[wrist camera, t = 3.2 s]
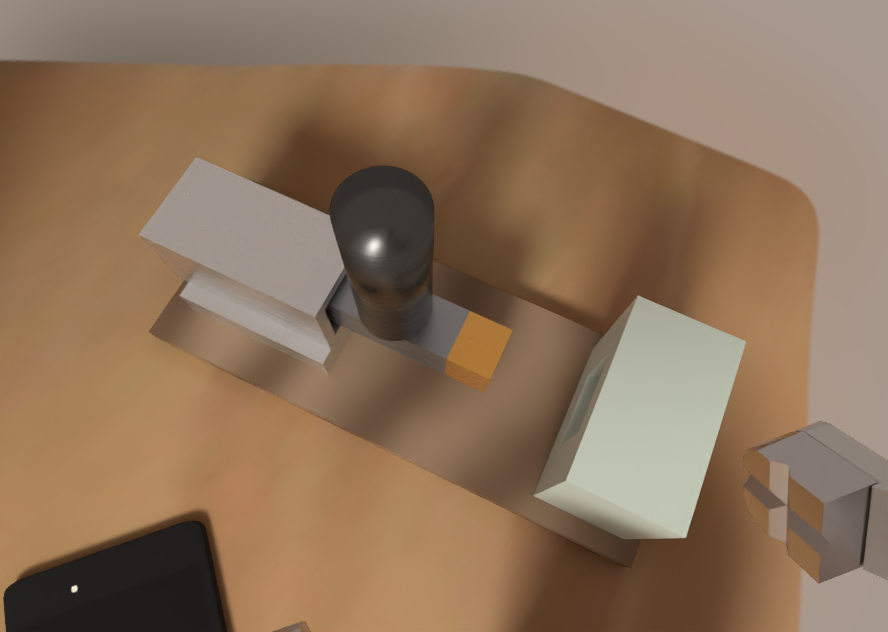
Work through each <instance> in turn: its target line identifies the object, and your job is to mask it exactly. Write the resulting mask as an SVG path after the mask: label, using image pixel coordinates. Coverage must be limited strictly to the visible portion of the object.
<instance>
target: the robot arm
mask: <svg viewBox="0 0 888 632" xmlns="http://www.w3.org/2000/svg"><path fill="white" fill-rule="evenodd" d="M743 468H745V469H746V470H747V471H748V472H749V473H750V476H749V477H748V479H747V481H746V483H745V484H744V486H743V489H744V501H745V504H746V506H747V508H748V511H749V513H750V515H751V517H752V518H753V519H754V521H755V522H756V524H757V525H758V526H759V527H760V528H761V529H762V530H763V531H764V532H765V533H766V534H767V535H768V536H769V537H772V538H775V539H778V540H781V541H784V542H786V545H787V551H788V555H789V556H790V557H791V558H792V559H793V560H794V561H795V562H796V563H797V564H798V565H799V566H800V567H801V568H803V569H804V570H805V571H806V572H807V573H808V574H809V575H810V576H811V577H812V578H813V579H814V580H815V581H817V583H821V582H824V581H827V580H829V579H832V578H834V577H837V576H839V575H842V574H845V573H847V572H850V571H852V570H855V569H857V568H860V567H862V566H863V569H864V570H866V571H868V572H870V573H873V574H875V575H877V576H880V577H882V578H884V579H886V580H888V460H886V459H885V458H883V457H882V456H880V455H878V454H877V453H875V452H874V451H872V450H871V449H869V448H867V447H866V446H864V445H863V444H861V443H860V442H858V441H856V440H855V439H854V438H852V437H850V436H849V435H847V434H846V433H844V432H843V431H841V430H839V429H838V428H836V427H835V426H833V425H832V424H830V423H827V422H823V421H819V422H816V423H814V424H811V425H808V426H806V427H803V428H801V429H798V430H796V431H794V432H790V433H787V434H785V435H782V436H780V437H777V438H775V439H772V440H770V441H767V442H765V443H762V444H760V445H757V446H755V447H752V448H750V449H747V451H746V452H745V454H744V456H743ZM273 632H311V631H310V629H309V627H308V625H307V624H306V622H305V621H301V622H298V623H296V624H293V625H290V626H287V627H284V628H282V629H279V630H276V631H273Z"/></svg>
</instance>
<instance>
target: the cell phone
mask: <svg viewBox="0 0 888 632" xmlns="http://www.w3.org/2000/svg"><path fill="white" fill-rule="evenodd" d="M3 600H4V612H5V625H6V632H227V629H226V624H225V619H224V614H223V610H222V605H221V600H220V595H219V590H218V585H217V581H216V576H215V571H214V566H213V561H212V557H211V552H210V547H209V542H208V537H207V533H206V529H205V526H204V525H203V524H202V523H201V522H198V521H188V522H183V523H180V524H177V525H174V526H171V527H168V528H165V529H163V530H160V531H157V532H154V533H151V534H148V535H145V536H143V537H140V538H137V539H134V540H131V541H128V542H126V543H123V544H120V545H117V546H114V547H111V548H109V549H106V550H103V551H100V552H97V553H94V554H91V555H89V556H86V557H83V558H80V559H77V560H74V561H72V562H69V563H66V564H63V565H60V566H57V567H54V568H52V569H49V570H46V571H43V572H40V573H37V574H35V575H32V576H29V577H26V578H23V579H21V580H19V581H17V582H15V583H13V584H12V585H10V586H9V587H8V588H7V589H6V591H5V593H4V598H3Z"/></svg>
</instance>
